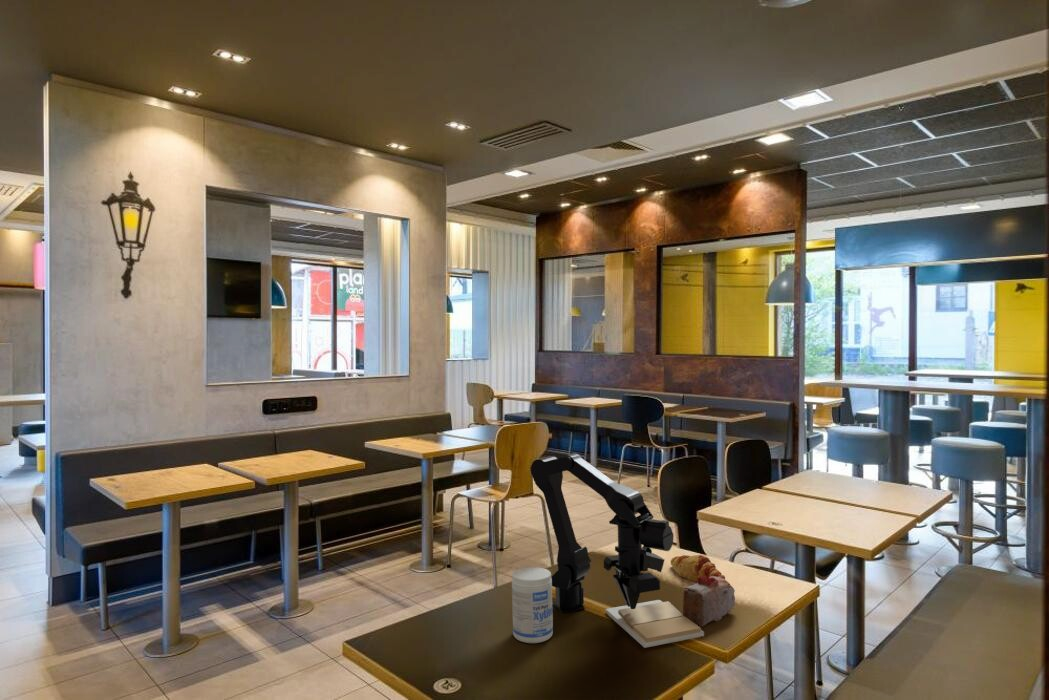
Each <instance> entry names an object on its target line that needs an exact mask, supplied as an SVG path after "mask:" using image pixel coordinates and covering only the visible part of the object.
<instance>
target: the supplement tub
mask: <svg viewBox="0 0 1049 700" xmlns="http://www.w3.org/2000/svg"><path fill="white" fill-rule="evenodd" d="M511 576H512V577H511V598H512V600H511V601H512V603H511V605H512V607H511V608H512V609H511V610H512V633H513V637H514V638H515V639H516V640H517V641H519V642H522V643H525V644H538V643H543V642H545V641H548V640H549V639H550V638H551V637H552V636H553V633H554V625H553V624H554V621H553V620H554V617H553V615H554V613H553V586H552V578H551V577H552V573H551V571H550V570H549V569H546V568H543V567H536V566H531V567H530V566H529V567H522V568H519V569H516V570H514V571H513V572H512V574H511Z"/></svg>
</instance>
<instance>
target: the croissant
mask: <svg viewBox="0 0 1049 700" xmlns="http://www.w3.org/2000/svg"><path fill="white" fill-rule="evenodd" d="M670 565H671V567H672V569H673V570H674V571H675V573H676V574H677V575H678V576H679V577H681V578H684V579H686V580H688V581H692V582H696V583H698V580H697V578H700V576H702V577H704V576H706V577H708V576H709V577H711V576H716V577H721V578H723V579H725V580H726V576H725V575H723V574H722V572H721V571H720V570H718V568H717V567H716V564H715V563H713V562H711V560H710V558H709V557H708V556H706V555H703V554H694V555H688V554H687V555H685V554H684V555H681V556H679V555H678V556H674V557H672V558H671V559H670Z"/></svg>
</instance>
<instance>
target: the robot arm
mask: <svg viewBox="0 0 1049 700" xmlns="http://www.w3.org/2000/svg"><path fill="white" fill-rule="evenodd" d="M529 470H530V471H529V472H530V475H531V477H532V479H533V482H534V484H535V485H536V487H537V488H538V489H539V490H540V491H541V492H542V493H543V496H544V500H545V503H546V507H547V511H548V514H549V517H550V521H551V525H552V529H553V531H554V532H553V533H554V536H555V539H556V542H557V546H558V549H557V554H556V555H557V556H556V563H557V570H556V571H555V572H554V574H552V575H551V578H552V588H553V587H554V588H555V601H552V605H554V606H555V607H556V608H557V609H558V611H559V612H561V613H569V612H574V611H580V610H585V609H586V607H585V605H584V603H585V601H584V600H585V596H584V595H585V594H584V587H582V586H583V585H582V581H584V580H585V578H586V575H588V573H589V571H590V570H591V562H592V560H591V558H590V556H589V552H588V550H589V549H588V547H587V546H583V547H582V546H581V545H580V544H579V543H578V541H577V539H576V535H575V531H574V528H573V524H572V521H571V517H570V514H569V511H568V506H567V503H566V499H565V498H564V496H565V495H564V494H563V493H564V492H563V490H562V484H563V477H564V474H563V472H569V473H570V474H571V475H573V476H574V477H576V478H577V479H579V480H580V481H581V482H582V483H583V484H585V485H586V486H587V487H589V488H590V489H592V490H593V491H594V492H595V493H597V494H598V495H600V496H601V497H602V498H603V499H604V500H605V503H606V504H607V507H608V508H609V509H610V510H611V511H612V512H613V513H614V514H615V515H614V517H612V519H610V520H609V522H608V523H609V524H610V525H614V526H615V525H616V526H617V546H616V545H615V546H614V551H615V552H617V554H615V555H607V556H605V558H604V559H603V569H605V570H606V571H608V572H609V571H611V570H612V567H614V571H615V574H613V575H612V578H613V579H614V580H615V582H616V585H617V587H618V589H619V590H620V593H621V595H622V597H623V599H624V601H625V603H626V604H625V605H627V606H628V607H630V608H631V609H635V608H636V605H637V603H638V601H639V597H640V594H642V593H648V592H653V591H660V590H661V580H660V579H659V578H658V577H657V576H655V575H654V574H653V573H651V572H648V571H649V570H652V571H656V572H657V573H658V572H659V573H662V570H663V567H664V564H665V559H664V558H663V557H661V556H659V555H658V554H655V553H653V551H652V550H659V551H663V552H669V551H670V550H671V549H672V546H673V544H674V532H673V529H672V527H671V526H670V522H669V520H665V519H664V520H660V519H654V515H653V514H652V512H651V511H650V509H649V508H648V506H647V505H646V503H645V500H644V496H643V495H642V493H640V492H639V491H638V490H635V489H634V488H632V487H629V486H626V485H624V484H620V483H618V482H615V481H614V480H612V479H611V478H609V476H608V475H605V474H604V473H603V472H601V471H600V470H599V469H597V468H596V467H595V466H593V465H591V463H589V462H588V461H586V460H585V459H584V458H582V456H581V455H580V454H578V453H575V452H573V453H570V454H567V455H566V454H565V455H564V456H561V457H556V456H554V455H549V456H545V457H541V458H537V459H535V460H533V462H532V463H531V466H530V469H529ZM637 514H639V515H638V516H636V515H637ZM644 572H645V573H644Z"/></svg>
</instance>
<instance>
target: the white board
mask: <svg viewBox="0 0 1049 700" xmlns="http://www.w3.org/2000/svg"><path fill="white" fill-rule="evenodd" d="M661 602H663V601H662V600H660V599H655V600H650V601H644V602H639V603H638V602H637V605H636V607H638V606H643V605H649V604H655V603H661ZM626 608H630V607H628V606H627V604H625V605H622V606H621V605H620V606H615V607H610V608H605V614H607V616H608V617H610V618H611V619H612V620H613V621H614V622H615V623H616V624H617V625H619V626H620V627H621V628H622V629H623V630H624V631H625V632H627V633H628V634H629V635H630V636H631V637H632V638H633V639H634V640H635V641H636V642H637V643H639V644H640V645H641V646H642V647H643V648H644V649H645V648H650V647H656V646H660V645H665V644H671V643H675V642H681V641H685V640H686V641H687V640H692V639H696V638H697V639H698V638H701V636H702V637H704V636H705V631H704V630H702V627H700V626H698V625H696V624H695V623H693V622H692V621H691V620H689V619H688V618H686V617H685V616H683V617H677V618H672V619H667V620H661V621H656V622H650V623H645V624H639V625H634V626H633V629H631V628H630V626H629V625H628V624H627V623H626V622H625V621H624V620H623V618H622V617H621V616H620V615H619V614H618V610H620V609H626Z"/></svg>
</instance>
